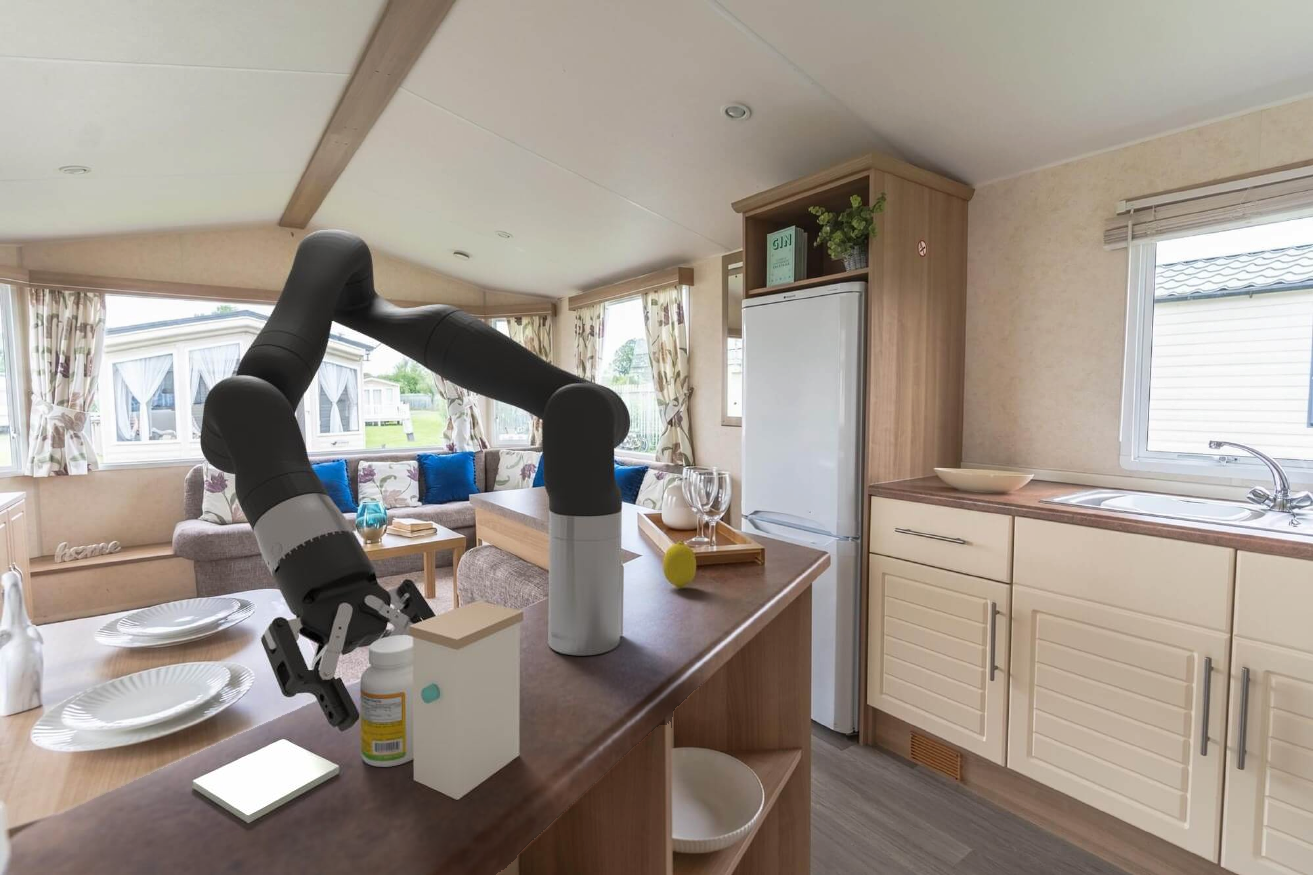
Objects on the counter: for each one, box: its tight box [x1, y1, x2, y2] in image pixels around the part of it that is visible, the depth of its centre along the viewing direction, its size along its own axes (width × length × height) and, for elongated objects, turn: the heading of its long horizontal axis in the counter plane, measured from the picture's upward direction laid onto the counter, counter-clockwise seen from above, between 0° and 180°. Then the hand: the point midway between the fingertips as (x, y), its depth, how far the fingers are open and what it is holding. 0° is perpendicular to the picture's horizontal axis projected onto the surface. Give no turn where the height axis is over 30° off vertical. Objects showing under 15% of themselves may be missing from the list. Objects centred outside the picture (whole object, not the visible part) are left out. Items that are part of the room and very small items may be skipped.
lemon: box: [662, 541, 697, 590], centre depth 102 cm, size 6×6×8 cm
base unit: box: [409, 600, 524, 801], centre depth 51 cm, size 8×5×13 cm
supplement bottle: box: [359, 634, 414, 768], centre depth 53 cm, size 5×5×10 cm
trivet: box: [192, 738, 340, 824], centre depth 49 cm, size 7×8×1 cm
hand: (396, 702), depth 53 cm, fingers open, 8 cm apart
